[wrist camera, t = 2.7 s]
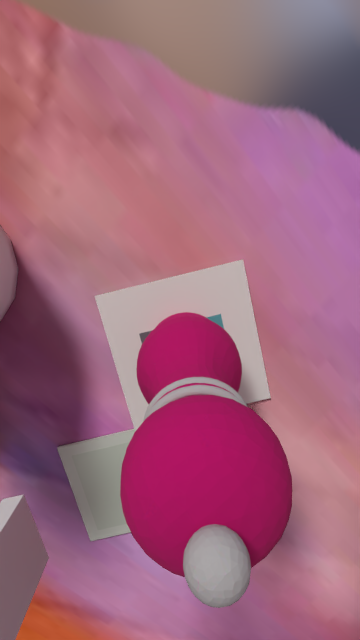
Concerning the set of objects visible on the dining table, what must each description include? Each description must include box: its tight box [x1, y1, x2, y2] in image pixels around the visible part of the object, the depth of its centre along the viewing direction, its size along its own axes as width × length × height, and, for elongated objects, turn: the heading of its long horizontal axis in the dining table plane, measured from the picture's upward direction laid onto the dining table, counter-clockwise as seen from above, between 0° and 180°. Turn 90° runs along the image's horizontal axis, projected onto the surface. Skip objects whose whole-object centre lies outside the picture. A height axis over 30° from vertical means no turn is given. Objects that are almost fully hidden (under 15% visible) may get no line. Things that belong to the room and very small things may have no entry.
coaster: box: [57, 429, 136, 541], centre depth 30 cm, size 10×10×1 cm
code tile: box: [95, 260, 271, 430], centre depth 28 cm, size 12×12×1 cm
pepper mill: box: [120, 312, 292, 608], centre depth 18 cm, size 7×7×20 cm
